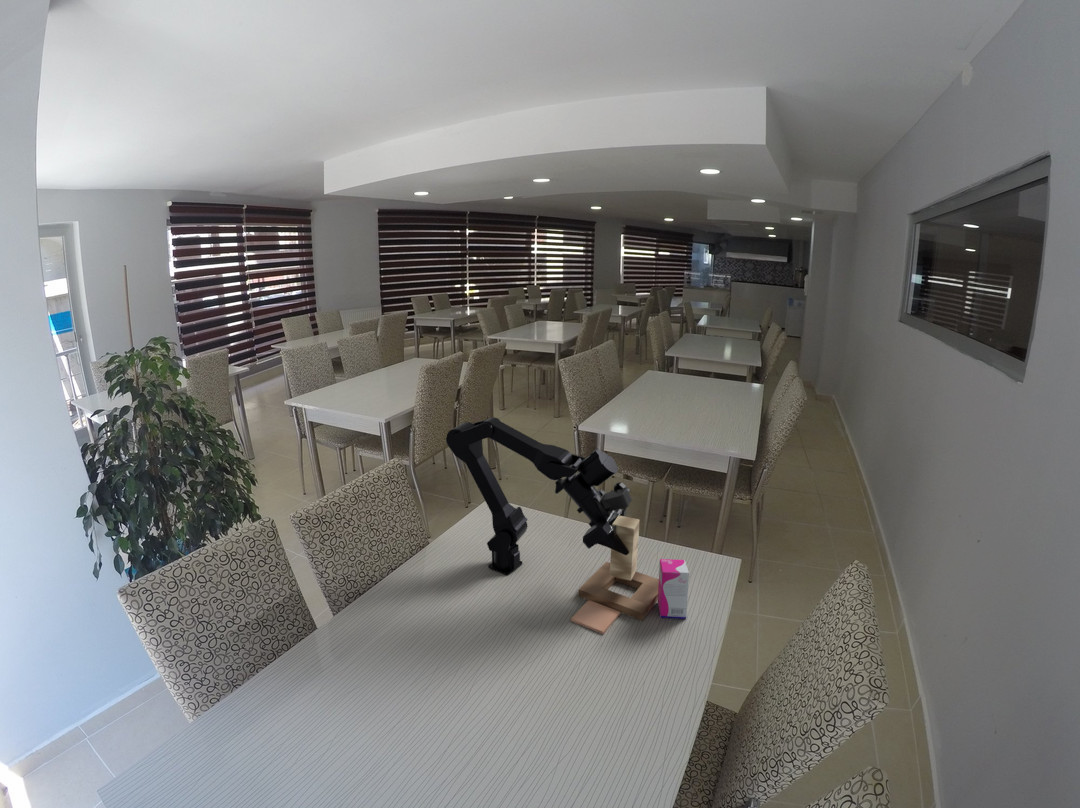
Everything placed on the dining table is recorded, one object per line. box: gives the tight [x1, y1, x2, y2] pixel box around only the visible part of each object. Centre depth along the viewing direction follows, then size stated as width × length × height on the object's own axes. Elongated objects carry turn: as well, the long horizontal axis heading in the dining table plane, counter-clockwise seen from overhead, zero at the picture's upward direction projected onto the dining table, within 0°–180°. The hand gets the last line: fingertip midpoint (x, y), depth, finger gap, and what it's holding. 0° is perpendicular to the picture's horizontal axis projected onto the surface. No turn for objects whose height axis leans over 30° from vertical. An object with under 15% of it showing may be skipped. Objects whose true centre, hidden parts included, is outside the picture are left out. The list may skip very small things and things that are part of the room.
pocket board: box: [577, 561, 659, 622], centre depth 134 cm, size 16×14×2 cm
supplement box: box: [657, 558, 690, 620], centre depth 126 cm, size 6×6×12 cm
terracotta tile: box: [570, 600, 621, 635], centre depth 125 cm, size 8×8×1 cm
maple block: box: [609, 515, 641, 581], centre depth 131 cm, size 5×5×13 cm
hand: (630, 548), depth 130 cm, fingers closed on maple block, 5 cm apart
